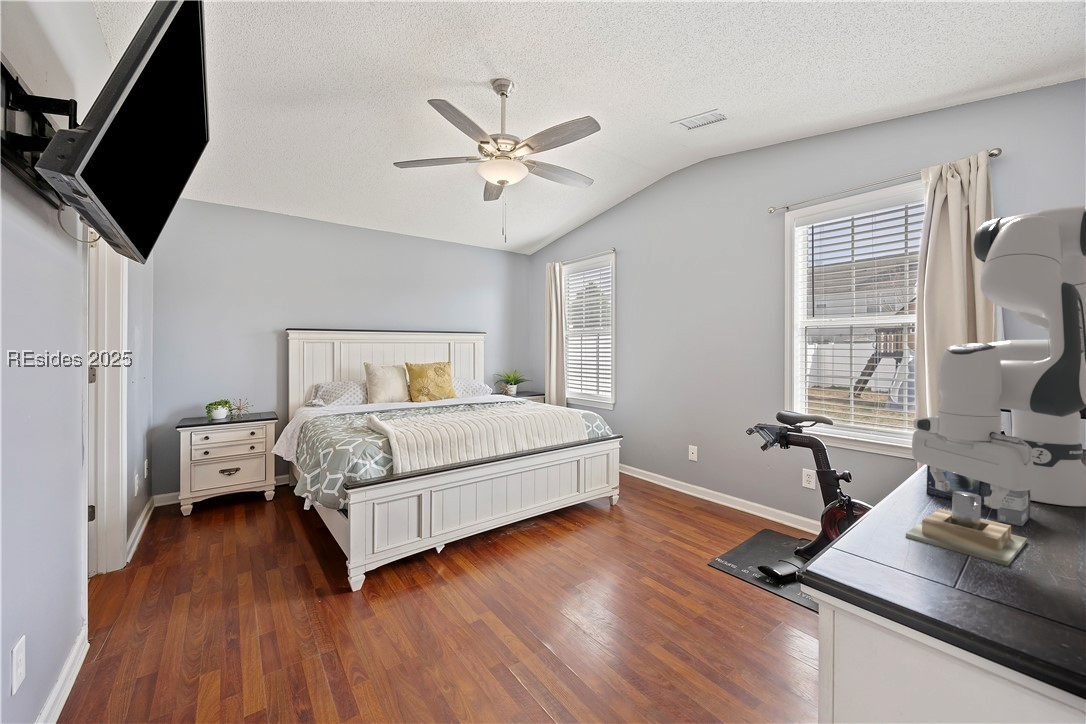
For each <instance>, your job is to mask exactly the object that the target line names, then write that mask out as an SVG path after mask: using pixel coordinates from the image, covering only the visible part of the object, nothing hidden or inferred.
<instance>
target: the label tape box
mask: <svg viewBox="0 0 1086 724" xmlns="http://www.w3.org/2000/svg"><path fill="white" fill-rule="evenodd" d="M996 510H997V521H998V522H999V523H1003V524H1007V525H1014V526H1020V527H1023V526H1024V525H1025V523H1026V522H1028V520H1029V519H1030V517H1031V500H1030V490H1027V491H1012V490H1009V493H1008V494H1007V495H1006V496H1005V497H1004V498H1003V499H1002V500H1001V508H999V509H996Z"/></svg>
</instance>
